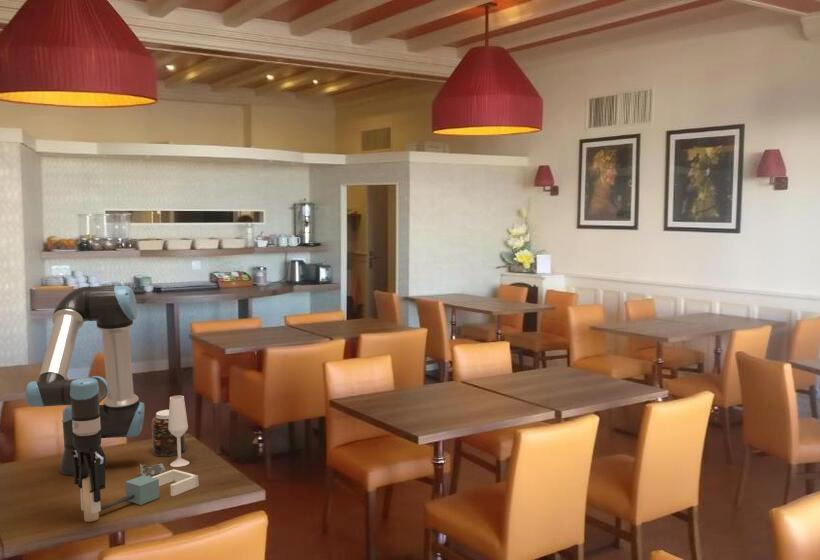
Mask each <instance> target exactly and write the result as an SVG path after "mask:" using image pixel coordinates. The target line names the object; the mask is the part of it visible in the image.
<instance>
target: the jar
mask: <svg viewBox="0 0 820 560" xmlns="http://www.w3.org/2000/svg"><path fill="white" fill-rule="evenodd" d="M168 423H169V409H163V410H159V411H157V412H156V413H155V416H154V418H152V420H151V439H152V441H151V442H152V454H153V456H156V457H161V458H162V457H163V458H164V457H167V458H168V457H173V456H178V452H177V437H175V436H174V435H173V434H171V433H170V431H169V430H168ZM185 434H186V433H184V434H183V435H182V436H181V437H180V442H181V454H183V453H184V452H185V451H186V437H185Z"/></svg>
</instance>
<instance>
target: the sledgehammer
mask: <svg viewBox="0 0 820 560" xmlns="http://www.w3.org/2000/svg"><path fill="white" fill-rule="evenodd" d="M124 485H125V497H122V498H120V499H117V500H114V501H112V502H109V503H106V504H103V505H101V511H99V512H102V511H105V510H106V509H110V508H112V507H115V506H118V505H120V504H123V503H125V502H130V503H133V504H136V505H140V506H142V505H144V504H146V503H150V502H152V501H154V500H155V501H156V500H157V499H160V486H159V479H156V478H153V477H149V476H148V475H147V476H146V475H143V476H141V475H140V476H137V477H135V478H131V479H129V480H126V481H125V482H124ZM82 489H83V508H84V510H83V521H84V522H88V523H91V522H95V521H97V520H99V518H100V514H99V512H96V513H94V514H91V503H90V491H91V490H92V489H91V483H90V477H89V476H88V477H87V478H84V479H82Z"/></svg>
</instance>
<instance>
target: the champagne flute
mask: <svg viewBox="0 0 820 560" xmlns="http://www.w3.org/2000/svg"><path fill="white" fill-rule="evenodd" d="M168 408H169V409H168V410H169V423H168V430H169V431H170V433H171V434H173V435H174V436H175V437H177V452H178V455H177V458H176V459H175V460H173V461H172V462H170V463H169V465H170V467H175V468H177V467H178V468H179V467H180V468H181V467H185V466H187V465H189V464H190V461H188V460H187V459H184V458H182V453H181V442H180V437H181V436H182V435H183V434H186V432H187V431H188V429H189V425H188V423H189V422H188V418H187V417H188V416H187V411H186V410H187V409H186V403H185V396H184V395H173V396H170V397H169V407H168Z"/></svg>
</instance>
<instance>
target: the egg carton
mask: <svg viewBox="0 0 820 560" xmlns="http://www.w3.org/2000/svg"><path fill="white" fill-rule="evenodd" d="M139 466H140V470H139V472H140V474H139V475H140V476H143V475H146V476H149V477H153V476H156V475H159V474H162V473H164V472H166V469H165V466H164V464H163V463H155V464H154V465H153V464H150V466H149V467H147V465H146V464H142V463H139Z"/></svg>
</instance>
